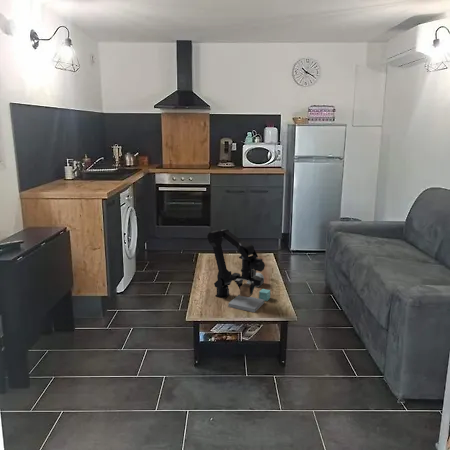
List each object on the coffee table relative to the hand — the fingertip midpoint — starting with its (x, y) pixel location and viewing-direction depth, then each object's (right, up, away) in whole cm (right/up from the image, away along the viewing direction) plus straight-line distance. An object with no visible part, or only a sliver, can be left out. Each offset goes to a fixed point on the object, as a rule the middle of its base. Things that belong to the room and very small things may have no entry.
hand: (246, 293), depth 248 cm
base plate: (0, -7, +2) cm, 7 cm away
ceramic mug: (+7, 0, +31) cm, 32 cm away
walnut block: (0, -1, 0) cm, 1 cm away
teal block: (+11, -5, +10) cm, 16 cm away
